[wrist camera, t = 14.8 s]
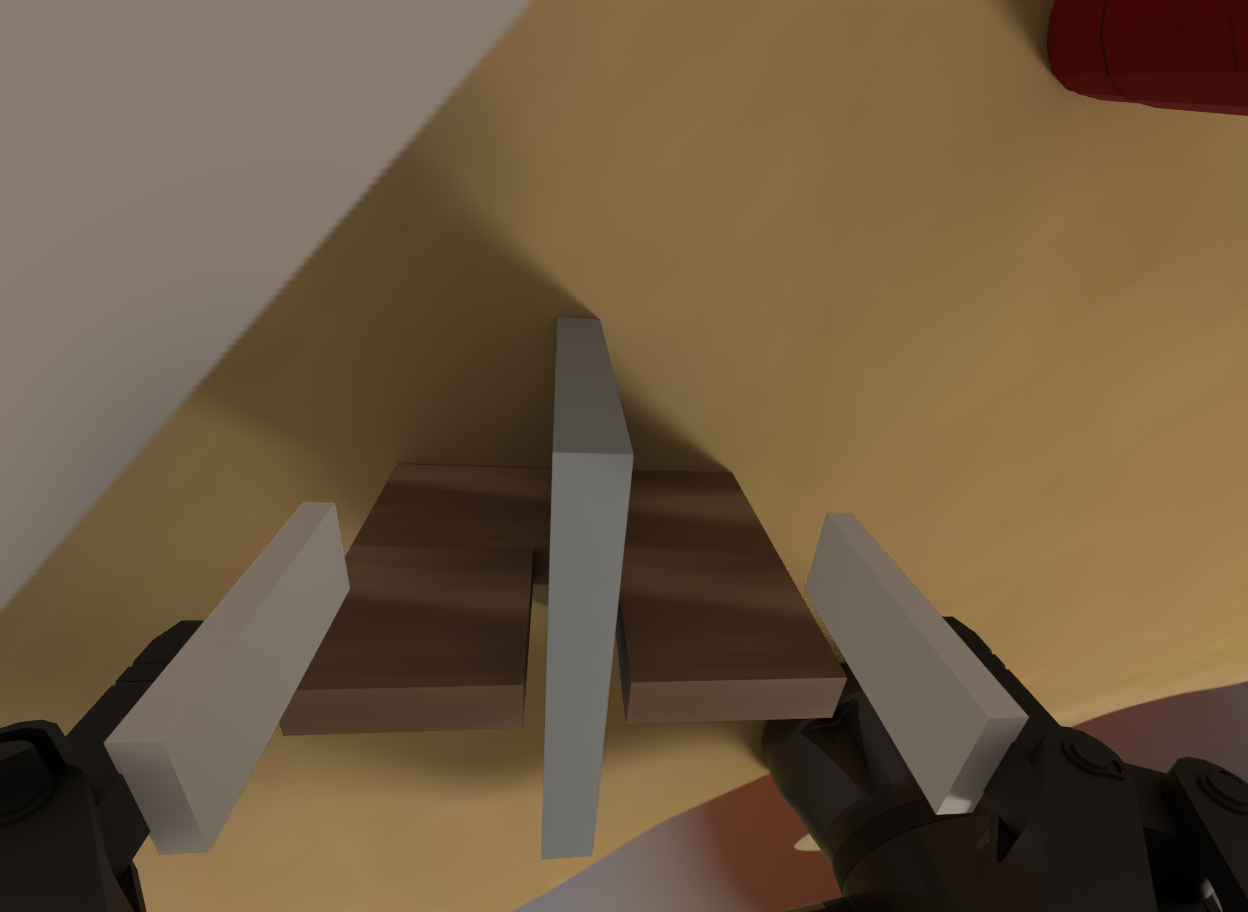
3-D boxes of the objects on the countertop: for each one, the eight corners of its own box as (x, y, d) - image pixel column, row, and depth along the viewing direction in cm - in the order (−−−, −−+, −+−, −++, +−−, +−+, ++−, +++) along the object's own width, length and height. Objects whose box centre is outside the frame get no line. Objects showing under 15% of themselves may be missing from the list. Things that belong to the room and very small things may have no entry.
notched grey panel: (581, 607, 34) (591, 856, 22) (548, 608, 34) (541, 859, 21) (599, 319, 26) (634, 454, 14) (557, 316, 26) (552, 452, 13)
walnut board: (726, 503, 32) (831, 717, 19) (401, 496, 29) (283, 735, 17) (732, 473, 31) (847, 677, 18) (397, 464, 28) (270, 690, 16)
